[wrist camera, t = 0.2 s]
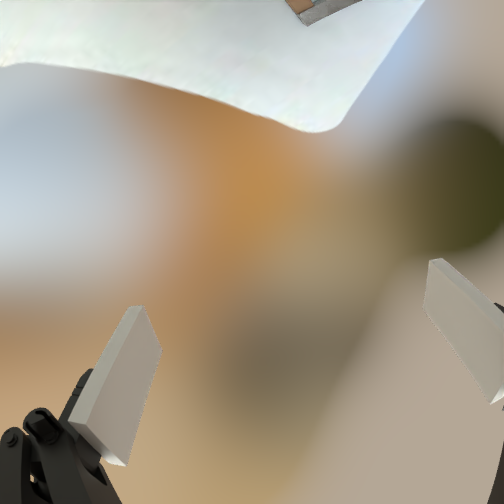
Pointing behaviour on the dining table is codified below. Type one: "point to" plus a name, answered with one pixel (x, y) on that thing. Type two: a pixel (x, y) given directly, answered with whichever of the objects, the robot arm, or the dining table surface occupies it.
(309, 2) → the walnut channel
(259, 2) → the dining table surface
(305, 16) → the end stop
